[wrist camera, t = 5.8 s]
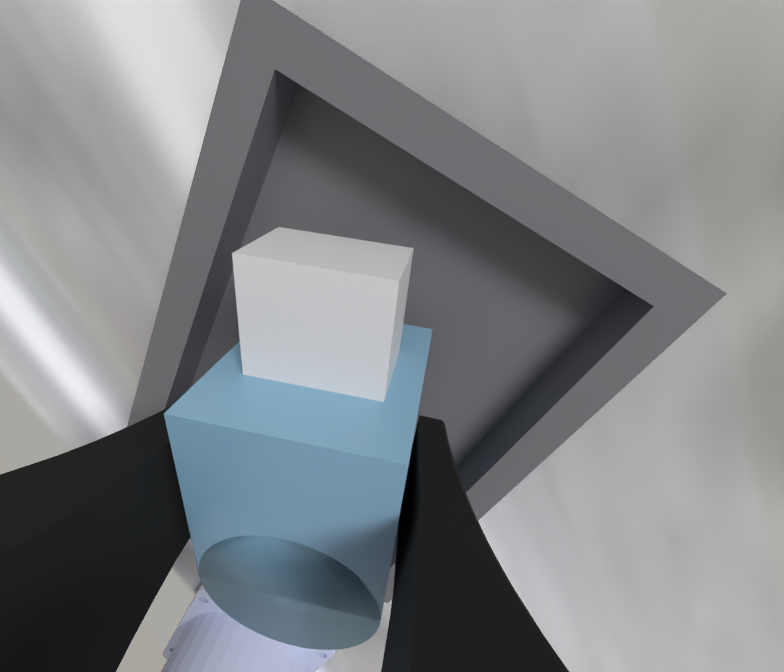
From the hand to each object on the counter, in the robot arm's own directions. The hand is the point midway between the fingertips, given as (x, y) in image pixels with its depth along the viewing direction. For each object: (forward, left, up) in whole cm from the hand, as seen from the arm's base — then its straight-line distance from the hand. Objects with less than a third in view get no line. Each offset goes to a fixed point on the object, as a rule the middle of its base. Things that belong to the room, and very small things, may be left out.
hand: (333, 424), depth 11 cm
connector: (0, 0, -2) cm, 2 cm away
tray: (0, 0, -3) cm, 3 cm away
